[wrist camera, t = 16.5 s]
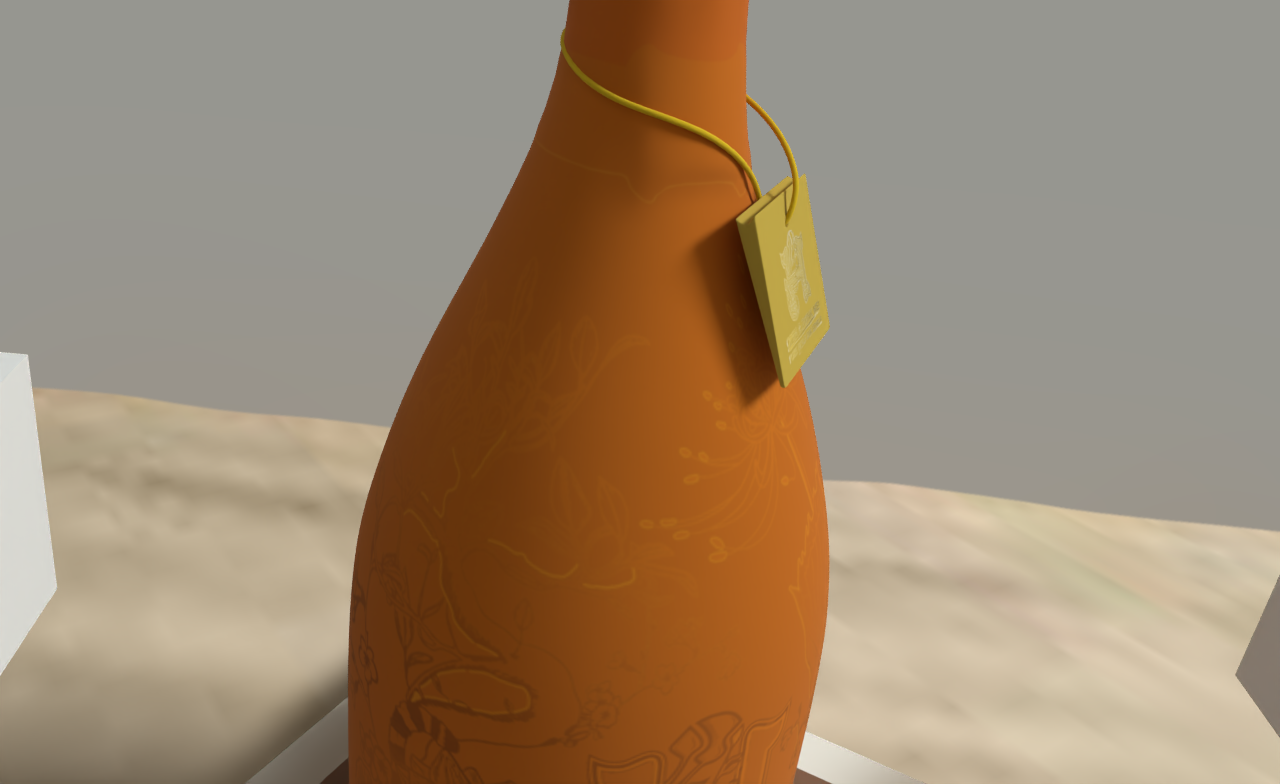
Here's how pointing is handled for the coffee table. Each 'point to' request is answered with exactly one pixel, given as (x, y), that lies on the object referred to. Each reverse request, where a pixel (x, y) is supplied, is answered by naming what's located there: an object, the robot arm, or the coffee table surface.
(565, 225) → the wine bottle
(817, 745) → the bottle stand
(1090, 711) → the coffee table surface
